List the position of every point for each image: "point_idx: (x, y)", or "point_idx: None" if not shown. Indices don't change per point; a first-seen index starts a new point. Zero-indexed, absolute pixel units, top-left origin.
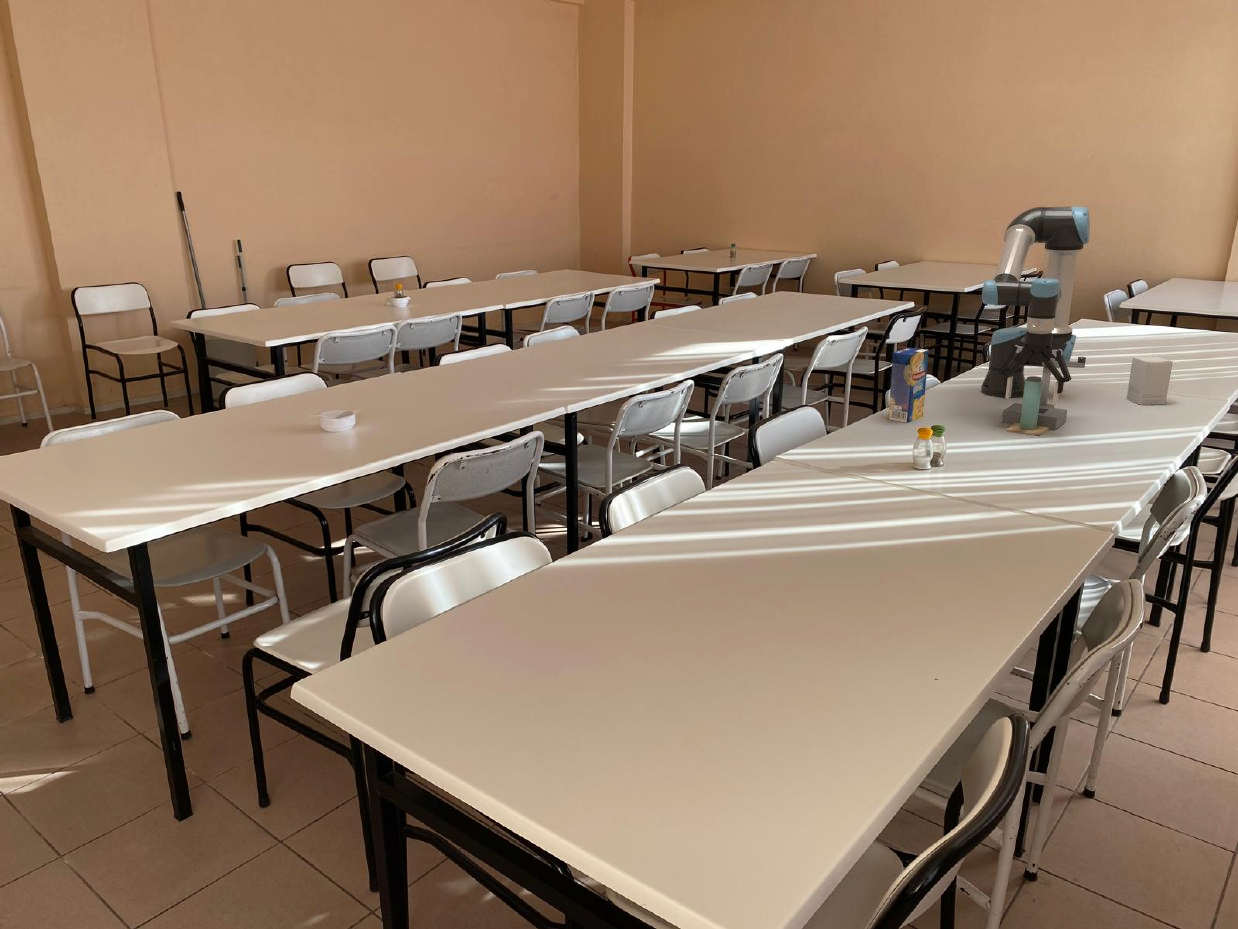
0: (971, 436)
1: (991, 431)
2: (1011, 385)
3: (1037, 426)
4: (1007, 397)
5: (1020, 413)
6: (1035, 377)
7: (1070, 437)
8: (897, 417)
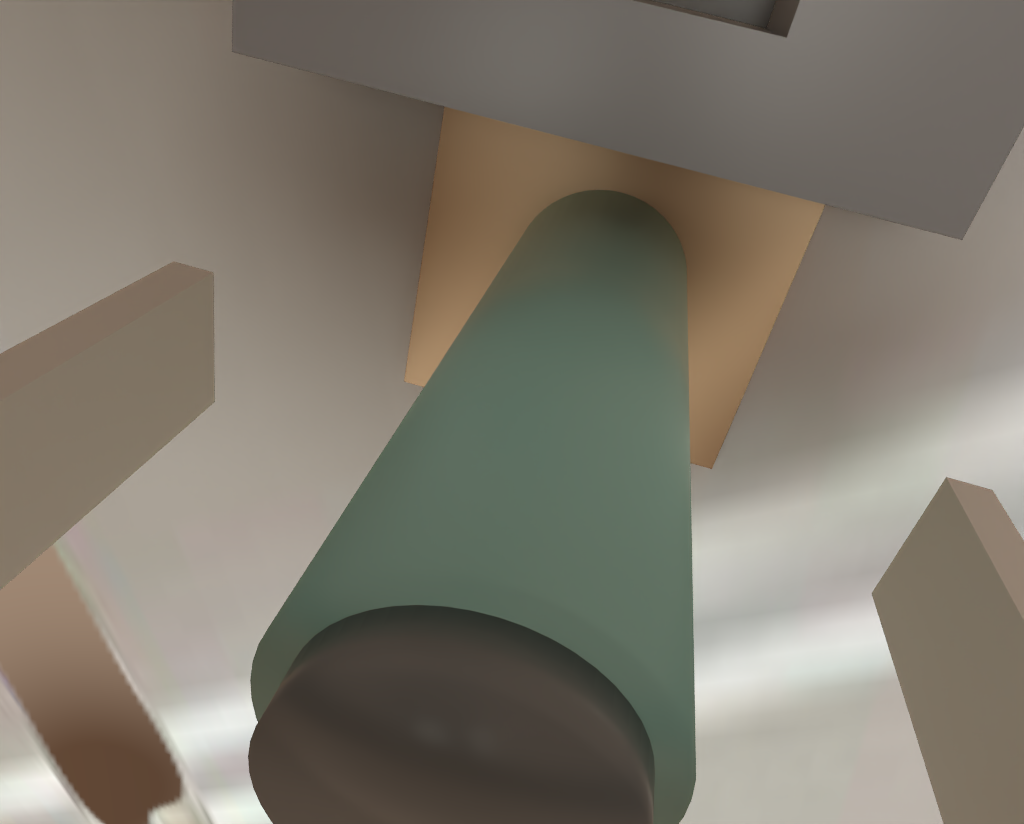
0: (226, 575)
1: (309, 418)
2: (64, 404)
3: (704, 176)
4: (196, 410)
5: (467, 107)
6: (473, 787)
7: (1015, 431)
8: None
